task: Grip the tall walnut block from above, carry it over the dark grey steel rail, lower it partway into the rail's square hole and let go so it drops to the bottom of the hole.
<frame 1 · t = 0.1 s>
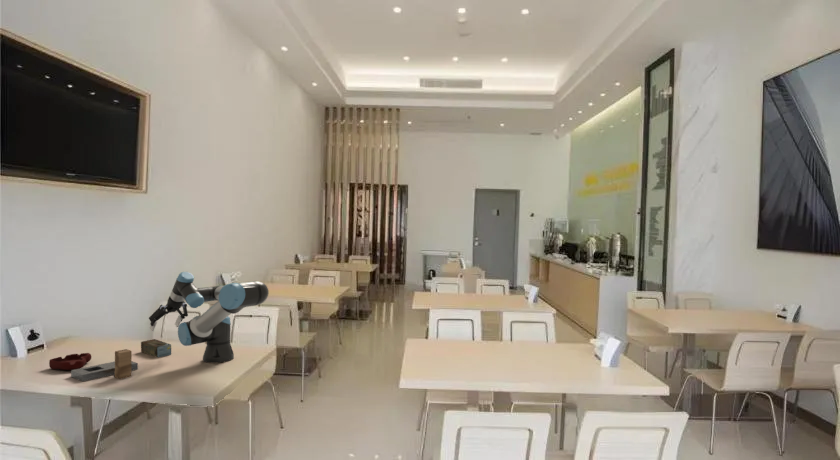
hand: (164, 327, 269), 15 cm above the table, tool tilted 35°, fingers open, 13 cm apart
walnut block: (123, 376, 232), on the table
steel rail: (105, 372, 238), on the table
dark red curved piece: (69, 368, 247), on the table
beverage carton: (156, 354, 275), on the table
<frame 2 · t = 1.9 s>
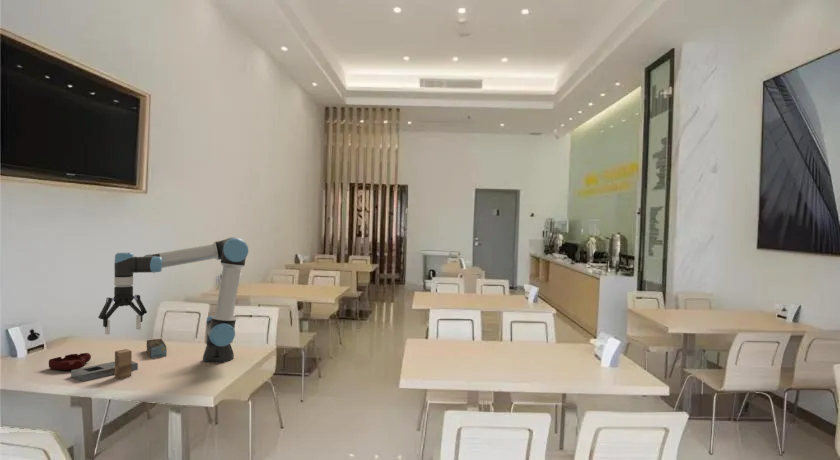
hand: (123, 331, 233), 21 cm above the table, tool pointing down, fingers open, 13 cm apart
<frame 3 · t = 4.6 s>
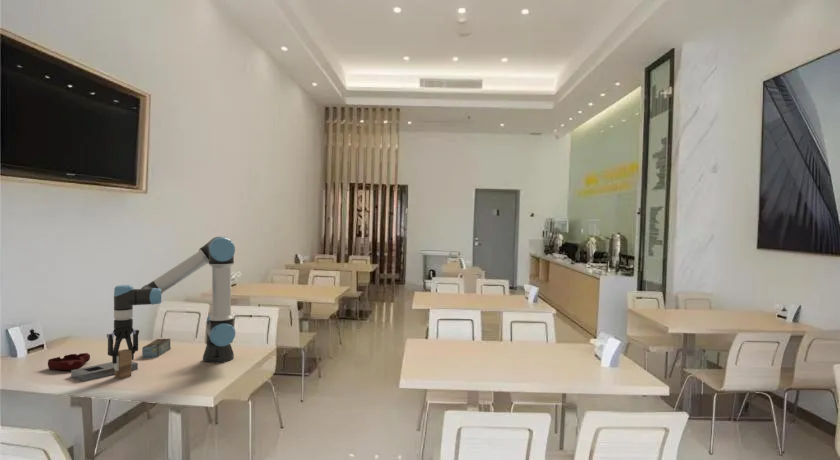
hand: (123, 368, 232), 4 cm above the table, tool pointing down, fingers closed on walnut block, 5 cm apart
walnut block: (123, 376, 232), on the table, touching gripper
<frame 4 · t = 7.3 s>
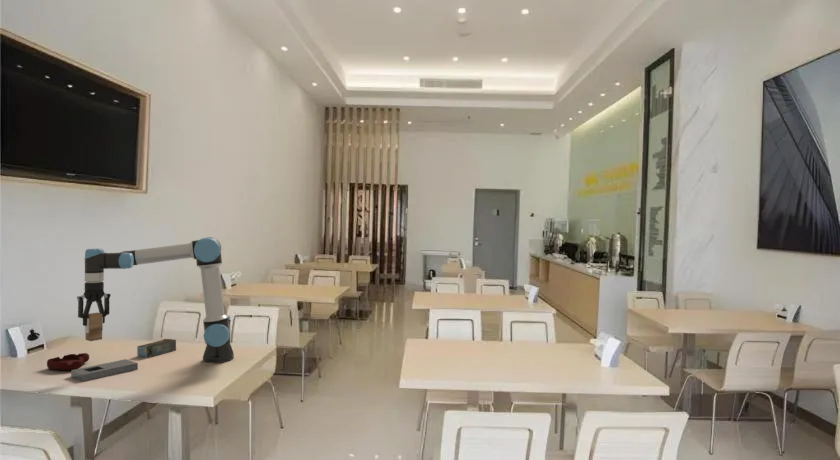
hand: (93, 331, 234), 21 cm above the table, tool pointing down, fingers closed on walnut block, 5 cm apart
walnut block: (93, 339, 234), point 17 cm above the table, touching gripper
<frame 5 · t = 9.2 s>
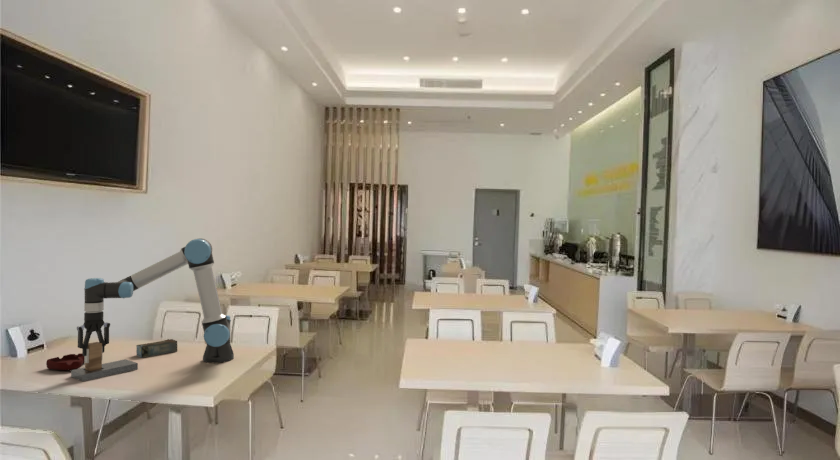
hand: (93, 361, 234), 7 cm above the table, tool pointing down, fingers closed on walnut block, 5 cm apart
walnut block: (93, 369, 234), point 3 cm above the table, touching gripper
when the fingers open (5 cm above the table, at t = 10.4 s): walnut block drops 1 cm, resting in steel rail.
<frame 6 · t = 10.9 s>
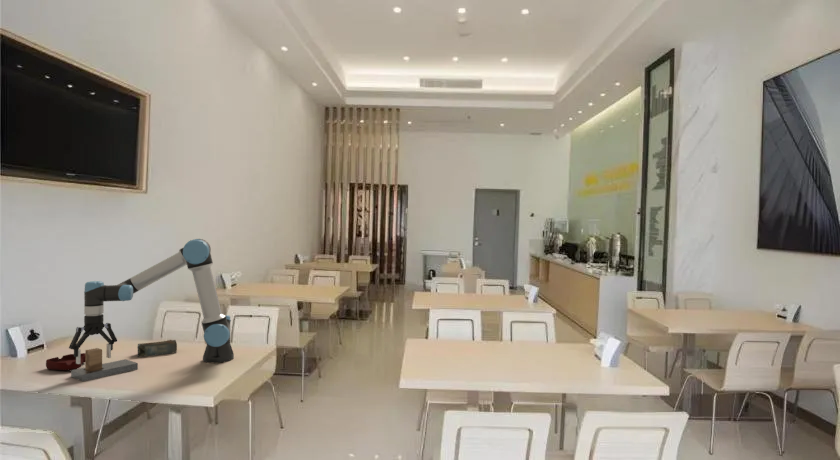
hand: (93, 360, 234), 7 cm above the table, tool pointing down, fingers open, 12 cm apart
walnut block: (93, 375, 234), resting in steel rail
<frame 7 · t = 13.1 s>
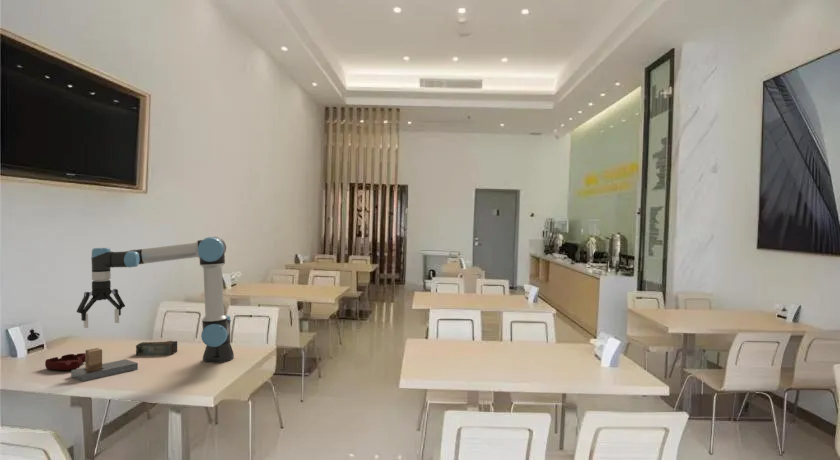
hand: (101, 325, 238), 23 cm above the table, tool pointing down, fingers open, 13 cm apart
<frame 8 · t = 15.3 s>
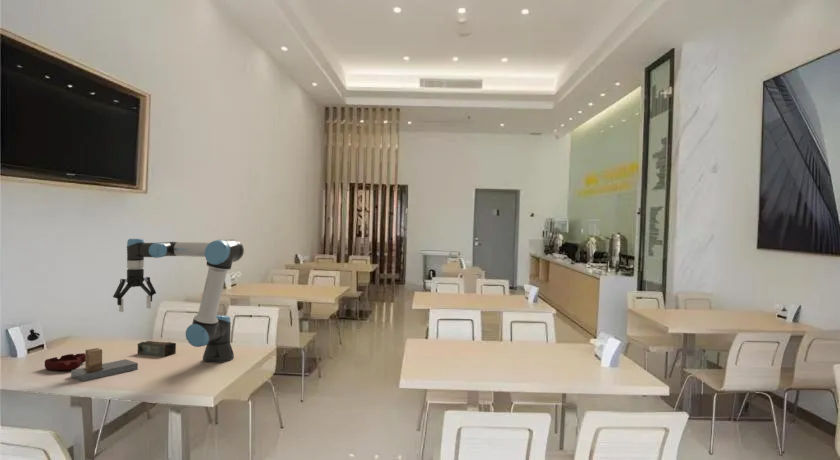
hand: (135, 309, 258), 27 cm above the table, tool pointing down, fingers open, 13 cm apart
at the end: walnut block 0.0 cm from the target spot on the steel rail, point 0.0 cm above the steel rail's base; walnut block tilted 0°; the gripper is holding nothing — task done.
